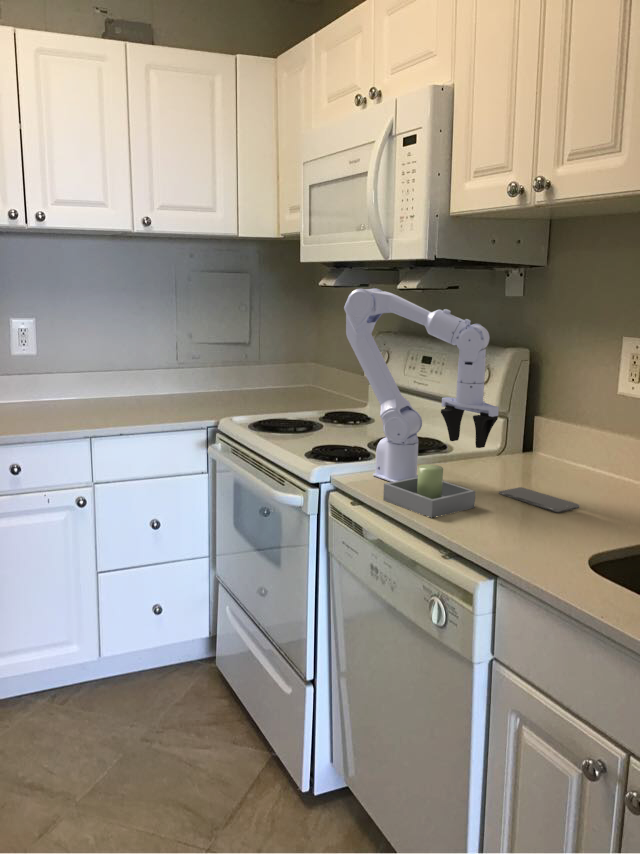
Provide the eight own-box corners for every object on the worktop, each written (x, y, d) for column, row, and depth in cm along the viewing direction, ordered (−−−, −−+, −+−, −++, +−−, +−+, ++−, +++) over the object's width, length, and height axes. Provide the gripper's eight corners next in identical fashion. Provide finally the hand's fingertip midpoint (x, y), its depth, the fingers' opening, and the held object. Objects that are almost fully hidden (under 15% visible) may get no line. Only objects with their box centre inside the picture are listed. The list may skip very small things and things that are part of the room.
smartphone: (520, 486, 162) (581, 504, 148) (520, 491, 162) (581, 509, 149) (497, 491, 158) (557, 510, 144) (496, 496, 158) (556, 515, 145)
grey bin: (383, 500, 152) (383, 483, 151) (425, 490, 159) (425, 475, 158) (431, 518, 141) (432, 500, 140) (474, 507, 148) (475, 491, 147)
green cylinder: (411, 499, 150) (413, 466, 148) (428, 495, 153) (430, 463, 151) (429, 506, 146) (431, 472, 145) (446, 501, 149) (448, 468, 148)
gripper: (509, 384, 153) (505, 448, 156) (458, 376, 165) (455, 435, 167) (487, 387, 149) (483, 452, 152) (436, 378, 161) (433, 439, 163)
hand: (466, 443), depth 159 cm, fingers open, 7 cm apart
